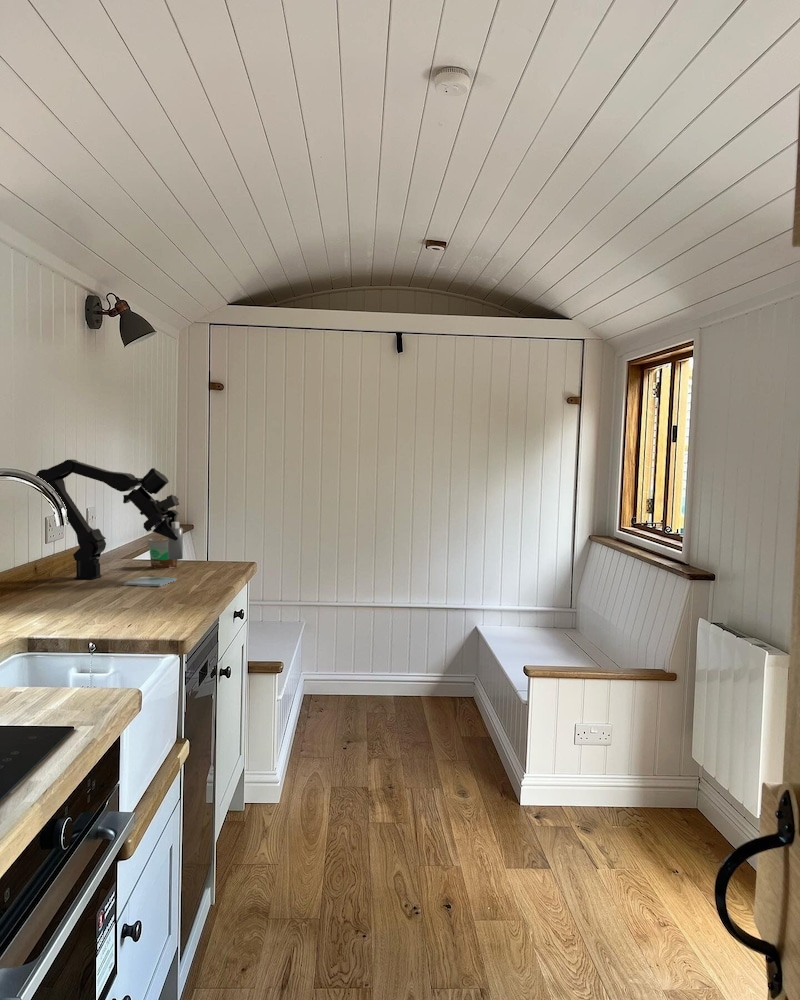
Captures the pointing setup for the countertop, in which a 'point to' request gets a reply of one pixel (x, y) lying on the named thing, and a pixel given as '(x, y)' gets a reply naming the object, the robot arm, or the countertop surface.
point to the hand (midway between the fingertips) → (179, 538)
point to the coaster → (150, 581)
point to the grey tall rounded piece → (176, 543)
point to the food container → (160, 554)
